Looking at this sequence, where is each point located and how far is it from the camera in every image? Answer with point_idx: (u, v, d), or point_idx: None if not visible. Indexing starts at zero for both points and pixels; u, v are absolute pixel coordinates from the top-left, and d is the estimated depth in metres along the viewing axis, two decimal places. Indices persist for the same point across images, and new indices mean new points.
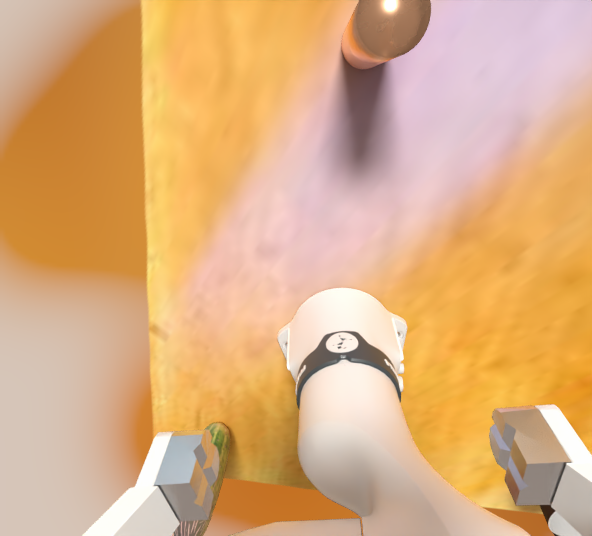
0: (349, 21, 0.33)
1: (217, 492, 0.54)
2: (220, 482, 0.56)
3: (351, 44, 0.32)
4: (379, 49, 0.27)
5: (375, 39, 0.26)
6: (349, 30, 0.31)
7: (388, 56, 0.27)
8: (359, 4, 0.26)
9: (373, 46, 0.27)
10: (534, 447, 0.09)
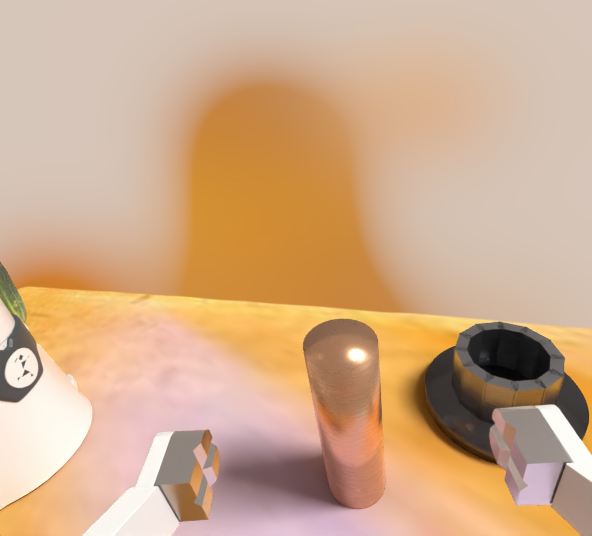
0: None
1: None
2: None
3: None
4: (312, 334, 0.26)
5: (321, 331, 0.27)
6: None
7: (304, 341, 0.26)
8: (351, 320, 0.27)
9: (315, 331, 0.27)
10: (534, 447, 0.09)
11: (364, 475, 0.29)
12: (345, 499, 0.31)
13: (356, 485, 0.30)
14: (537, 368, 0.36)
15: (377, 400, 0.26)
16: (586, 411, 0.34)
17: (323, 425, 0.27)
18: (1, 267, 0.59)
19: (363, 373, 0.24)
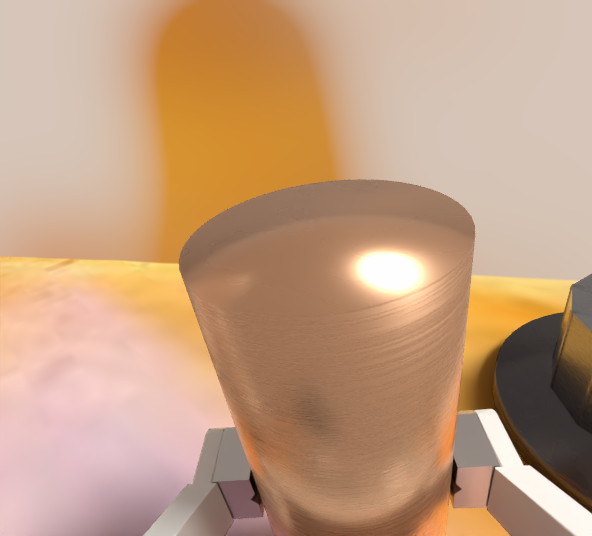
0: None
1: None
2: None
3: None
4: (228, 217, 0.08)
5: (260, 209, 0.08)
6: None
7: (196, 233, 0.07)
8: (360, 181, 0.09)
9: (242, 209, 0.08)
10: (467, 451, 0.09)
11: None
12: None
13: None
14: None
15: (451, 443, 0.07)
16: None
17: (271, 515, 0.09)
18: None
19: (422, 337, 0.05)
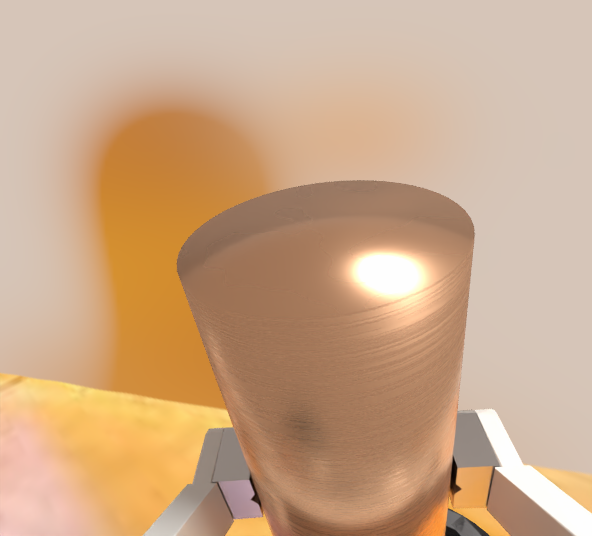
0: None
1: None
2: None
3: None
4: (226, 218, 0.08)
5: (258, 210, 0.08)
6: None
7: (194, 234, 0.07)
8: (360, 182, 0.08)
9: (241, 210, 0.08)
10: (467, 451, 0.09)
11: None
12: None
13: None
14: None
15: (450, 445, 0.07)
16: None
17: (270, 517, 0.09)
18: None
19: (421, 339, 0.05)
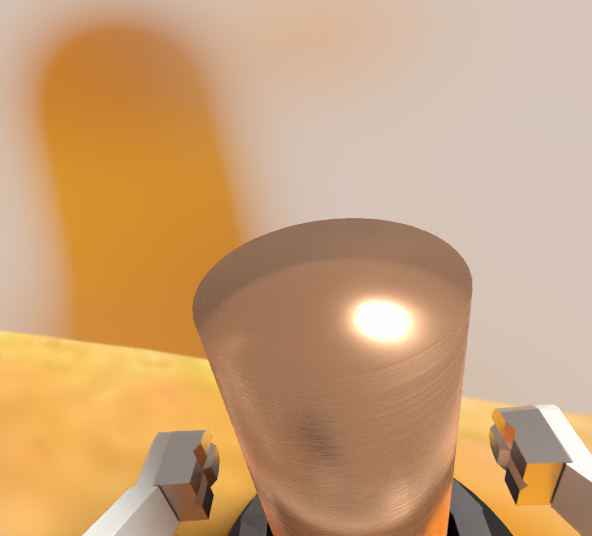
0: None
1: None
2: None
3: None
4: (236, 258, 0.08)
5: (267, 250, 0.08)
6: None
7: (207, 276, 0.08)
8: (363, 220, 0.09)
9: (250, 249, 0.08)
10: (534, 447, 0.09)
11: None
12: None
13: None
14: None
15: (450, 475, 0.08)
16: None
17: None
18: None
19: (422, 390, 0.06)
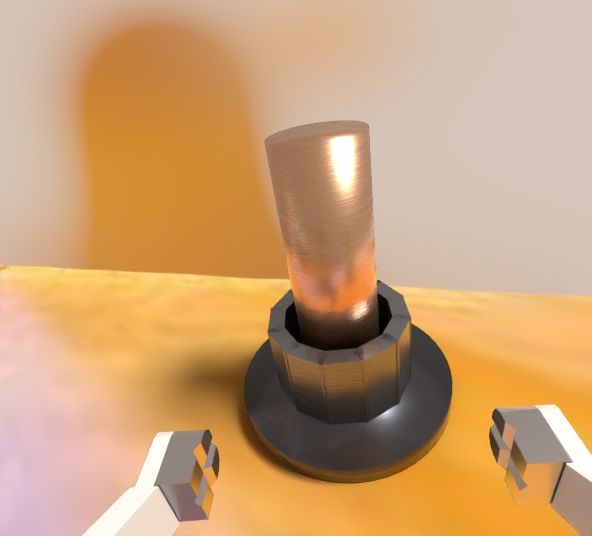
0: None
1: None
2: None
3: None
4: (278, 133, 0.19)
5: (291, 131, 0.19)
6: None
7: (267, 138, 0.19)
8: (333, 121, 0.20)
9: (284, 131, 0.19)
10: (534, 447, 0.09)
11: (352, 344, 0.22)
12: None
13: None
14: None
15: (368, 221, 0.19)
16: (447, 398, 0.23)
17: (295, 265, 0.20)
18: None
19: (347, 158, 0.17)
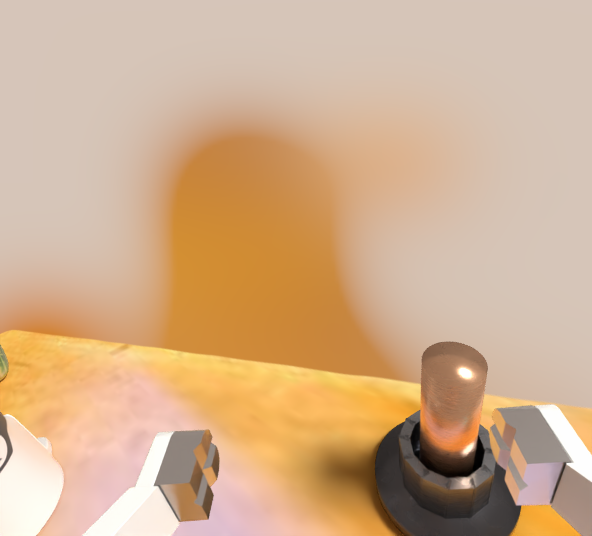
0: None
1: None
2: None
3: None
4: (427, 355, 0.32)
5: (434, 353, 0.32)
6: None
7: (422, 361, 0.32)
8: (457, 343, 0.33)
9: (428, 352, 0.33)
10: (534, 447, 0.09)
11: (462, 471, 0.35)
12: None
13: None
14: (477, 455, 0.38)
15: (481, 409, 0.32)
16: None
17: (433, 429, 0.33)
18: None
19: (478, 388, 0.30)
